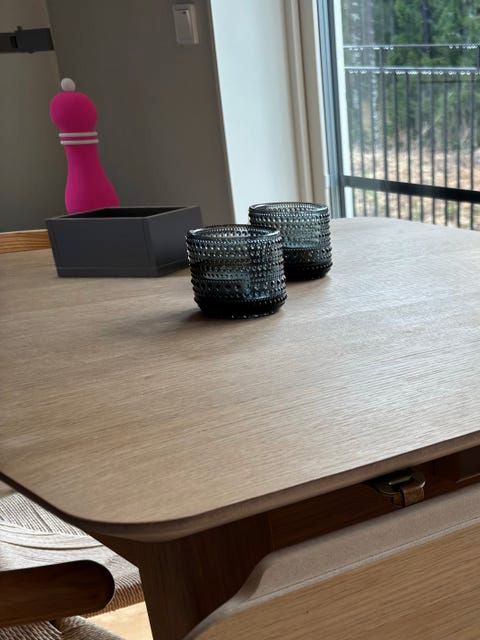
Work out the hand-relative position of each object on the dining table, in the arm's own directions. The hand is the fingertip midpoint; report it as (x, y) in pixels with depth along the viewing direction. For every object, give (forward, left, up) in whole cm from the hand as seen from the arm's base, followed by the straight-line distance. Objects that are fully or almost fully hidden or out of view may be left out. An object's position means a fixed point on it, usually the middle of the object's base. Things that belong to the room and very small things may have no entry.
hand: (10, 38), depth 132 cm
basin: (+30, -29, -25) cm, 49 cm away
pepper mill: (+9, -2, -25) cm, 27 cm away
